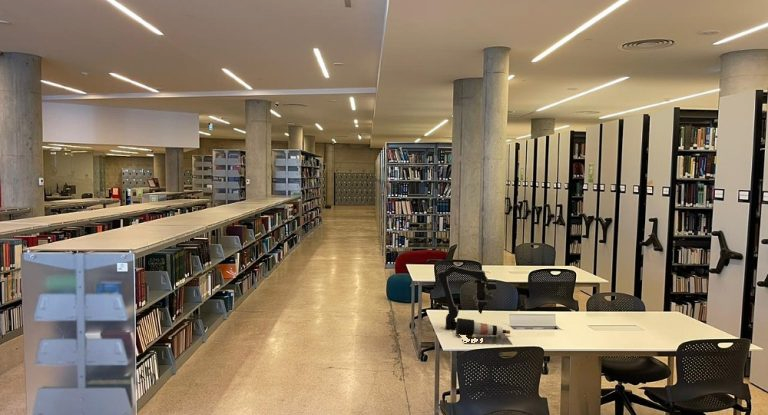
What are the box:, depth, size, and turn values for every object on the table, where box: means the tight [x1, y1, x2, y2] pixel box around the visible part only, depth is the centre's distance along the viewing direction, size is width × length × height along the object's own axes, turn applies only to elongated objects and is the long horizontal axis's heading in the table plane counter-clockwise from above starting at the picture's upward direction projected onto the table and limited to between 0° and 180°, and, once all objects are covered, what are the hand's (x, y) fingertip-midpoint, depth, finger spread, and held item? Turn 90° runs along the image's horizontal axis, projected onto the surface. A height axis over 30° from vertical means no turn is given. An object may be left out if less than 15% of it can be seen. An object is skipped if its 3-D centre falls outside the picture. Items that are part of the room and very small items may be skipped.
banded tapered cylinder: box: [455, 317, 511, 336], centre depth 345 cm, size 10×34×10 cm, turn 87°
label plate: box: [463, 333, 513, 346], centre depth 340 cm, size 30×26×1 cm
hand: (480, 312), depth 357 cm, fingers open, 4 cm apart
